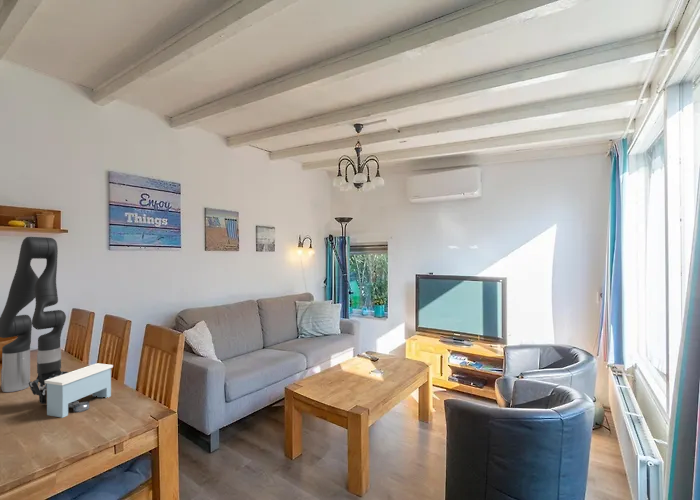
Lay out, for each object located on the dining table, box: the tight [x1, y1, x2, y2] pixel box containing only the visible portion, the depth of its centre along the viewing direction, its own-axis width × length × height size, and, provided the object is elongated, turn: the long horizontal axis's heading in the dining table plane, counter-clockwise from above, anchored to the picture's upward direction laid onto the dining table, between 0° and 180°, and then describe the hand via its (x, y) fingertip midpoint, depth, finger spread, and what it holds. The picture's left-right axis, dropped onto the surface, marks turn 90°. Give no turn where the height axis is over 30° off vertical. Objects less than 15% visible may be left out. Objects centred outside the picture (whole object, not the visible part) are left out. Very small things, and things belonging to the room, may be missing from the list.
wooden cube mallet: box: [39, 390, 80, 409], centre depth 142 cm, size 16×4×6 cm, turn 75°
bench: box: [45, 362, 114, 418], centre depth 143 cm, size 9×21×14 cm, turn 165°
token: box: [72, 401, 90, 413], centre depth 139 cm, size 5×5×2 cm
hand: (49, 400), depth 144 cm, fingers closed on wooden cube mallet, 4 cm apart
